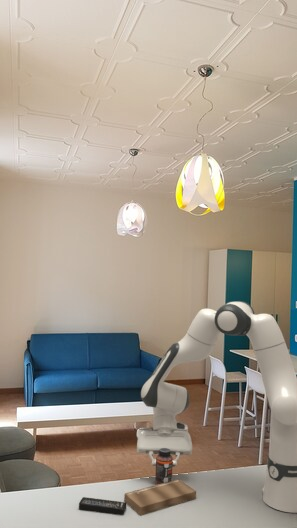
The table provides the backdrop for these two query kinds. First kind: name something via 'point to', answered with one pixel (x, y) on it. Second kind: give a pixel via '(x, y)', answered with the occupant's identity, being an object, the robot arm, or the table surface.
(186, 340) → the robot arm
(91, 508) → the multiport hub
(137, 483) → the table surface
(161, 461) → the supplement bottle
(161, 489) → the walnut board
